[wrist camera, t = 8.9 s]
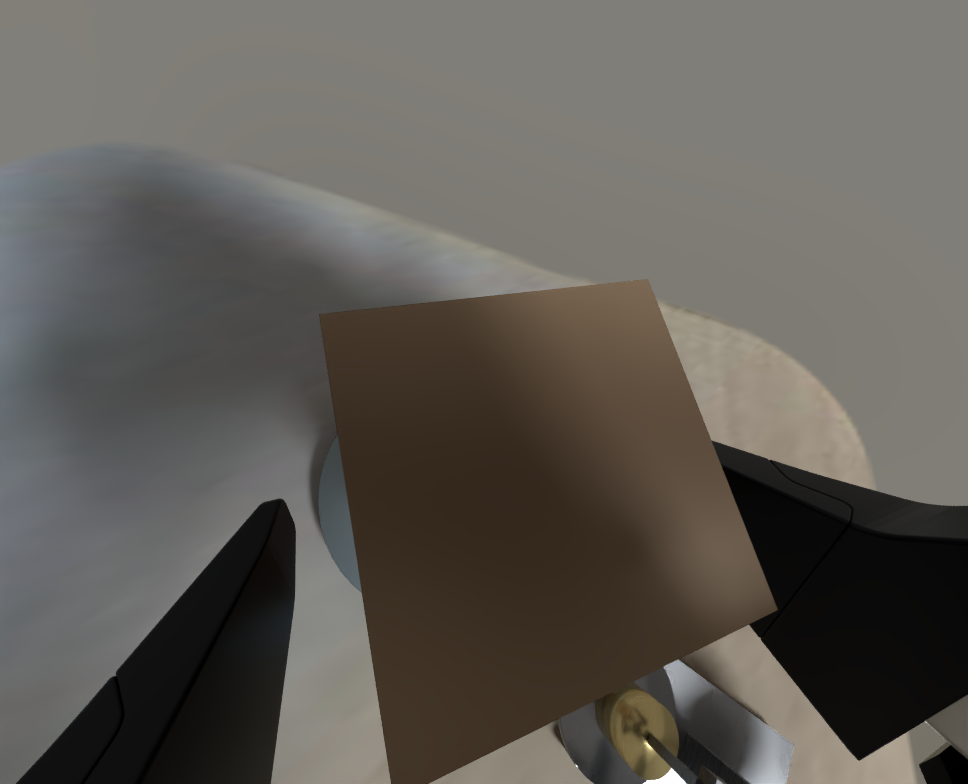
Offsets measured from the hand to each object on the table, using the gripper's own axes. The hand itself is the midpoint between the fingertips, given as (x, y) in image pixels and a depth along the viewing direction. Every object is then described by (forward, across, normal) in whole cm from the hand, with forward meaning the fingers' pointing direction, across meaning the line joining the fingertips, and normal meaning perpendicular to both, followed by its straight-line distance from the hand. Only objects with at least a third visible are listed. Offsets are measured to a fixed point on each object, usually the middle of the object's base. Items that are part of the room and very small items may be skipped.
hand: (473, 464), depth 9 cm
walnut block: (+5, 0, +6) cm, 8 cm away
